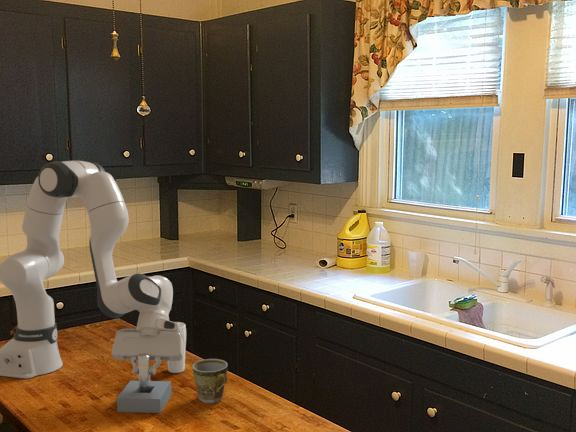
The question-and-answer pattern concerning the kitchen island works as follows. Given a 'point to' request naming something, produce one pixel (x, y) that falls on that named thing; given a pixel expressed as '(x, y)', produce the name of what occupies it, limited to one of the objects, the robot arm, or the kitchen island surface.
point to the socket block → (144, 397)
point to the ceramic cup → (210, 379)
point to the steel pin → (144, 373)
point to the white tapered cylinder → (180, 365)
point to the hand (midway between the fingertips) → (143, 373)
